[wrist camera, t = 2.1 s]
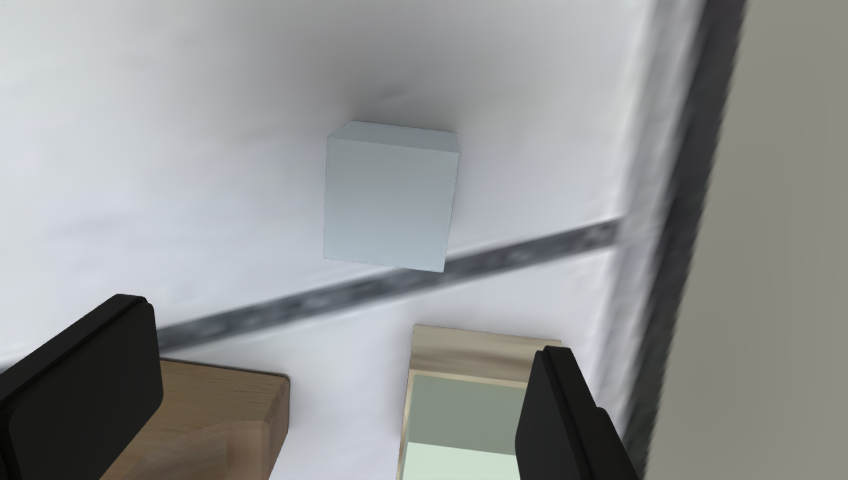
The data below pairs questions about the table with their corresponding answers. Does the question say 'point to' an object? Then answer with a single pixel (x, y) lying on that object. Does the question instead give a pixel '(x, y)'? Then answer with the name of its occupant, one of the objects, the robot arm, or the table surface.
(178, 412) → the decorative block
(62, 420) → the robot arm
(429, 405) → the upper tower block
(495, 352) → the lower tower block
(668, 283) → the table surface
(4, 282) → the table surface
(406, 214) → the grey-blue cube
